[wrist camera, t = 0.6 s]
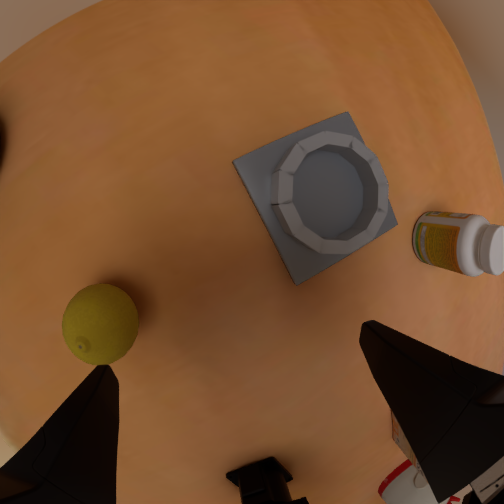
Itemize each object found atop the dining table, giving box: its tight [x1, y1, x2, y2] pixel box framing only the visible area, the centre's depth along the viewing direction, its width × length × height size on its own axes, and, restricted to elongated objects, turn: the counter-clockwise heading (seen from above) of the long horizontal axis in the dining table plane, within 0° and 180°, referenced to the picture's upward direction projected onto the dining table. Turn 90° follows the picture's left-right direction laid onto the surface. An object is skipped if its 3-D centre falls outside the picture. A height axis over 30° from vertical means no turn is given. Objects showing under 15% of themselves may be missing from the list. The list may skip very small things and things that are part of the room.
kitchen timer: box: [378, 459, 460, 504], centre depth 26 cm, size 14×14×15 cm
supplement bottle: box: [413, 212, 504, 277], centre depth 20 cm, size 5×5×10 cm
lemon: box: [62, 283, 139, 365], centre depth 18 cm, size 6×6×8 cm
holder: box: [232, 112, 398, 286], centre depth 21 cm, size 11×11×3 cm
